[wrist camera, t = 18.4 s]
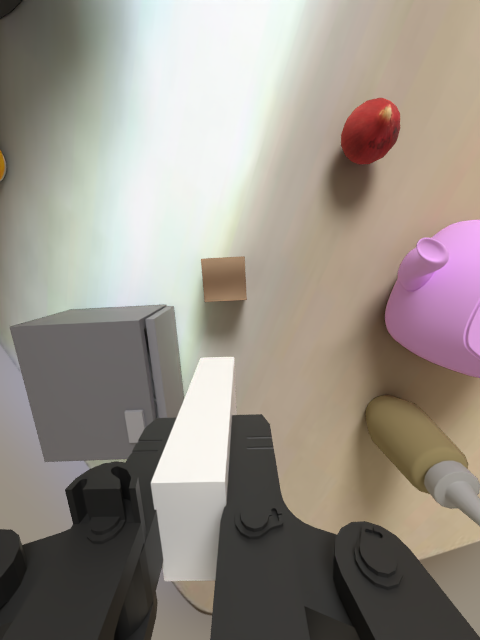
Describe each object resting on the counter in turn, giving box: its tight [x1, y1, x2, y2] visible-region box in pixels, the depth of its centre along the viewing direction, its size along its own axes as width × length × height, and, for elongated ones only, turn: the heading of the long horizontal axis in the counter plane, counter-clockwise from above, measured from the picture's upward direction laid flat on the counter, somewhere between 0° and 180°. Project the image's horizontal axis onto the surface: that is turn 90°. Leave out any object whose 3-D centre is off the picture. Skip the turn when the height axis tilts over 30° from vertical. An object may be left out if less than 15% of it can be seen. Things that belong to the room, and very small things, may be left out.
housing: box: [10, 305, 167, 462], centre depth 34 cm, size 17×14×10 cm
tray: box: [144, 306, 184, 418], centre depth 35 cm, size 17×14×8 cm
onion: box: [341, 98, 400, 164], centre depth 29 cm, size 6×6×8 cm
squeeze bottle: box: [365, 395, 480, 526], centre depth 32 cm, size 8×8×18 cm
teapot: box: [385, 220, 480, 378], centre depth 28 cm, size 23×21×15 cm
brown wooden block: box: [201, 257, 247, 302], centre depth 33 cm, size 5×5×6 cm
